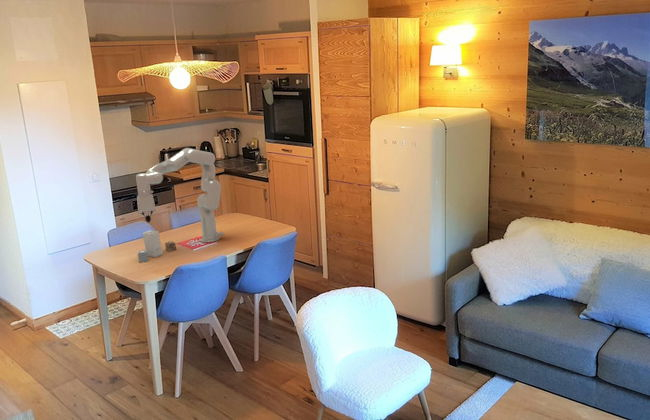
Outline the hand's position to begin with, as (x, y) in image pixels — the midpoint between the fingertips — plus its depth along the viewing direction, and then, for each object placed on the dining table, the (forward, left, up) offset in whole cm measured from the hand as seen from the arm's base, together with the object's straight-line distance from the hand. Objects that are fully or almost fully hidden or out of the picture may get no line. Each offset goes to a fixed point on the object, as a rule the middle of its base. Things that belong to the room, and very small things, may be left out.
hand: (148, 222), depth 348 cm
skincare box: (0, 0, -22) cm, 22 cm away
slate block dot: (+7, +7, -22) cm, 24 cm away
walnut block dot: (-11, -5, -22) cm, 26 cm away
